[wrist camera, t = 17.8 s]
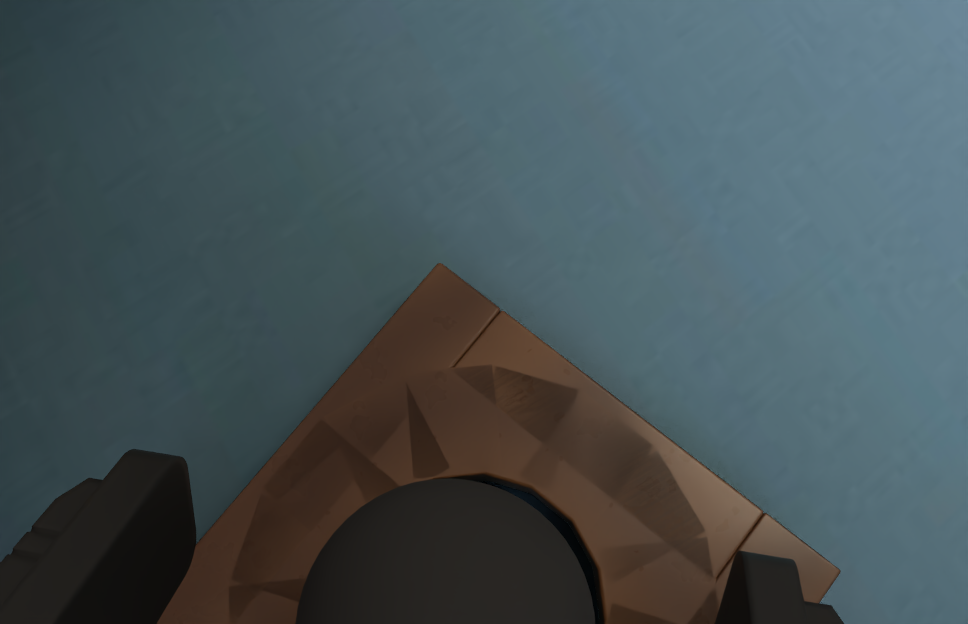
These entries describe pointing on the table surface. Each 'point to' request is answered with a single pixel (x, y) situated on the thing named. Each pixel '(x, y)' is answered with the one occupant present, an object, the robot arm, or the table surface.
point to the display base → (486, 472)
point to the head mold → (446, 562)
